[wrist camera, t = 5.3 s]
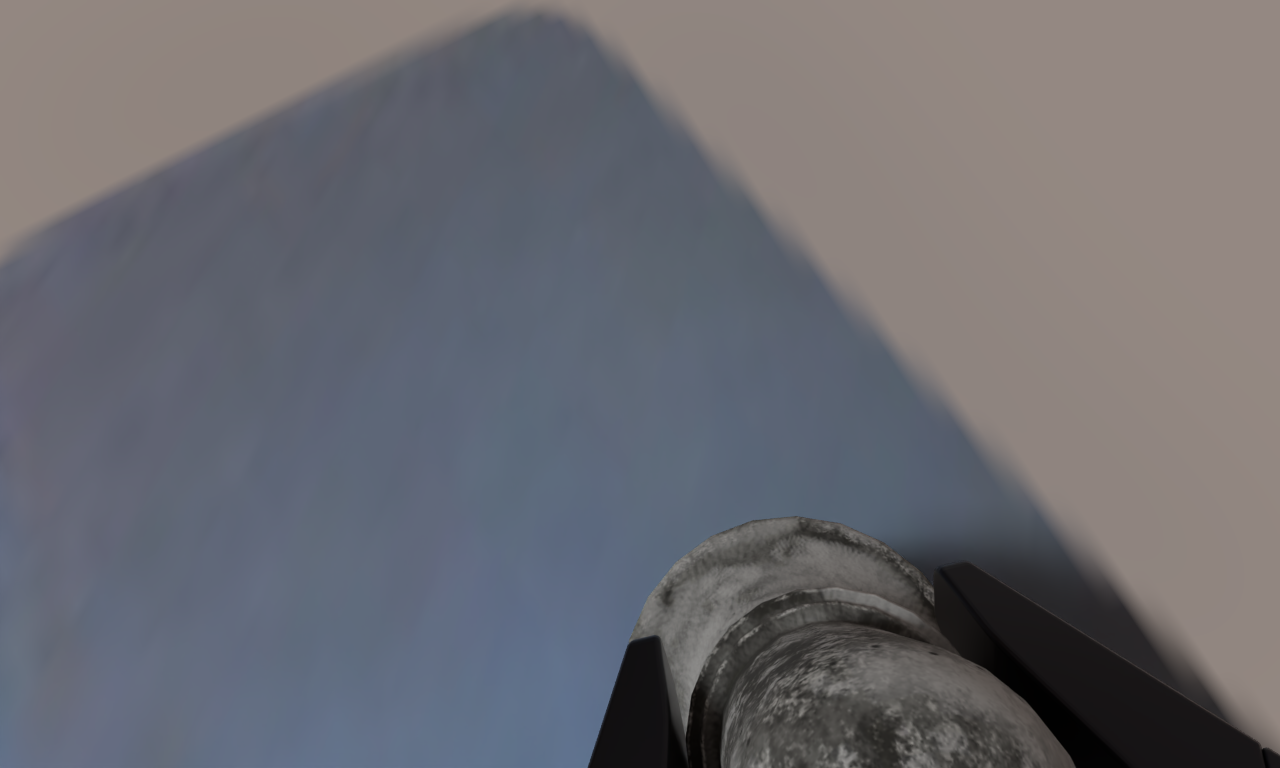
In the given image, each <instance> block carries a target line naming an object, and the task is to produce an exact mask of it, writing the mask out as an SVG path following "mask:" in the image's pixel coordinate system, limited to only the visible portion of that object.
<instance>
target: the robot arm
mask: <svg viewBox="0 0 1280 768" xmlns="http://www.w3.org/2000/svg"><path fill="white" fill-rule="evenodd" d="M934 609H935V616H936V620H937V623H938V626H939V629H940V631H941V633H942V635H944V636H945V637H946V638H947V639H948V640H949V641H950V642H951V644H952V645H953V646H954V647H955V649H956V650H957V651H958V653H959V654H960V655H961V656H962V658H964V659H966V660H969V661H971V662H973V663H975V664H977V665H979V666H981V667H983V668H985V669H987V670H988V671H989V672H990V673H992V674H993V675H994V676H995V677H997V678H998V679H999V680H1000V681H1002V682H1003V683H1004V684H1005V685H1007V686H1008V687H1009V688H1010V689H1011V690H1013V691H1014V692H1015V693H1016V694H1018V695H1019V696H1020V697H1021V698H1023V699H1024V700H1025V701H1026V702H1027V703H1028V704H1029V705H1030V707H1031V708H1032V709H1033V710H1034V711H1035V712H1036V713H1037V715H1038V716H1039V717H1040V719H1041V720H1042V721H1043V722H1044V724H1045V725H1046V726H1047V727H1048V729H1049V730H1050V731H1051V732H1052V734H1053V735H1054V736H1055V737H1056V739H1057V740H1058V741H1059V743H1060V744H1061V745H1062V746H1063V748H1064V749H1065V750H1066V751H1067V753H1068V754H1069V755H1070V757H1071V759H1072V761H1073V763H1074V765H1075V767H1076V768H1280V755H1279V754H1278V753H1276V752H1274V751H1273V750H1271V749H1269V748H1263V749H1262V747H1261V745H1260V743H1259V742H1258V741H1256V740H1255V739H1253V738H1251V737H1250V736H1248V735H1247V734H1245V733H1243V732H1242V731H1240V730H1239V729H1237V728H1235V727H1234V726H1232V725H1231V724H1229V723H1227V722H1226V721H1224V720H1223V719H1221V718H1219V717H1218V716H1216V715H1215V714H1213V713H1211V712H1210V711H1208V710H1207V709H1205V708H1203V707H1202V706H1200V705H1199V704H1197V703H1195V702H1194V701H1192V700H1191V699H1189V698H1187V697H1186V696H1184V695H1183V694H1181V693H1179V692H1178V691H1176V690H1174V689H1173V688H1171V687H1170V686H1168V685H1166V684H1165V683H1163V682H1162V681H1160V680H1158V679H1157V678H1155V677H1154V676H1152V675H1150V674H1149V673H1147V672H1146V671H1144V670H1142V669H1141V668H1139V667H1138V666H1136V665H1134V664H1133V663H1131V662H1130V661H1128V660H1126V659H1125V658H1123V657H1122V656H1120V655H1118V654H1117V653H1115V652H1114V651H1112V650H1110V649H1109V648H1107V647H1106V646H1104V645H1102V644H1101V643H1099V642H1098V641H1096V640H1094V639H1093V638H1091V637H1090V636H1088V635H1086V634H1085V633H1083V632H1082V631H1080V630H1078V629H1077V628H1075V627H1073V626H1072V625H1070V624H1069V623H1067V622H1065V621H1064V620H1062V619H1061V618H1059V617H1057V616H1056V615H1054V614H1053V613H1051V612H1049V611H1048V610H1046V609H1045V608H1043V607H1041V606H1040V605H1038V604H1037V603H1035V602H1033V601H1032V600H1030V599H1029V598H1027V597H1025V596H1024V595H1022V594H1021V593H1019V592H1017V591H1016V590H1014V589H1013V588H1011V587H1009V586H1008V585H1006V584H1005V583H1003V582H1001V581H1000V580H998V579H997V578H995V577H993V576H992V575H990V574H989V573H987V572H985V571H984V570H982V569H981V568H979V567H977V566H976V565H974V564H972V563H970V562H968V561H958V562H954V563H950V564H946V565H942V566H939V567H937V568H936V569H935V571H934ZM685 739H686V736H685V731H684V727H683V722H682V717H681V712H680V707H679V702H678V697H677V692H676V687H675V683H674V679H673V675H672V672H671V669H670V665H669V662H668V659H667V655H666V652H665V649H664V646H663V642H662V640H661V638H660V637H659V636H657V635H652V636H648V637H643V638H639V639H635V640H632V641H631V642H630V643H629V644H628V646H627V649H626V651H625V655H624V658H623V661H622V664H621V667H620V670H619V673H618V676H617V679H616V682H615V685H614V688H613V691H612V694H611V698H610V701H609V704H608V707H607V710H606V713H605V716H604V719H603V722H602V725H601V728H600V731H599V734H598V737H597V741H596V744H595V747H594V750H593V753H592V756H591V759H590V762H589V765H588V768H688V759H687V749H686V740H685Z"/></svg>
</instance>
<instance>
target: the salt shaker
mask: <svg viewBox="0 0 1280 768" xmlns="http://www.w3.org/2000/svg"><path fill="white" fill-rule="evenodd" d="M652 635H657V636H659V637H660V638H661V640H662V642H663V646H664V649H665V652H666V655H667V659H668V662H669V665H670V669H671V672H672V675H673V679H674V683H675V687H676V692H677V697H678V702H679V707H680V712H681V717H682V722H683V727H684V731H685V736H686V739H685V740H686V749H687V759H688V768H1076V767H1075V765H1074V763H1073V761H1072V759H1071V757H1070V755H1069V754H1068V753H1067V751H1066V750H1065V749H1064V748H1063V746H1062V745H1061V744H1060V743H1059V741H1058V740H1057V739H1056V737H1055V736H1054V735H1053V734H1052V732H1051V731H1050V730H1049V729H1048V727H1047V726H1046V725H1045V724H1044V722H1043V721H1042V720H1041V719H1040V717H1039V716H1038V715H1037V713H1036V712H1035V711H1034V710H1033V709H1032V708H1031V707H1030V705H1029V704H1028V703H1027V702H1026V701H1025V700H1024V699H1023V698H1021V697H1020V696H1019V695H1018V694H1016V693H1015V692H1014V691H1013V690H1011V689H1010V688H1009V687H1008V686H1007V685H1005V684H1004V683H1003V682H1002V681H1000V680H999V679H998V678H997V677H995V676H994V675H993V674H992V673H990V672H989V671H988V670H987V669H985V668H983V667H981V666H979V665H977V664H975V663H973V662H971V661H969V660H966V659H964V658H962V656H961V655H960V654H959V653H958V651H957V650H956V649H955V647H954V646H953V645H952V644H951V642H950V641H949V640H948V639H947V638H946V637H945V636H944V635H942V633H941V631H940V629H939V626H938V623H937V620H936V616H935V609H934V587H933V586H932V585H931V583H930V582H929V581H928V580H927V578H926V577H925V576H924V575H923V573H922V572H921V571H920V570H918V569H917V568H916V567H914V566H913V565H912V564H911V563H909V562H908V561H907V560H905V559H904V558H903V557H902V556H900V555H899V554H898V553H896V552H895V551H894V550H892V549H891V548H890V547H889V546H887V545H886V544H885V543H883V542H881V541H879V540H877V539H874V538H872V537H870V536H868V535H865V534H863V533H861V532H859V531H856V530H854V529H852V528H850V527H847V526H845V525H843V524H840V523H834V522H828V521H822V520H816V519H810V518H804V517H798V516H794V517H784V518H774V519H763V520H753V521H750V522H747V523H745V524H742V525H739V526H737V527H734V528H732V529H729V530H726V531H724V532H721V533H718V534H716V535H713V536H711V537H710V538H708V539H707V540H706V541H704V542H703V543H701V544H700V545H699V546H697V547H696V548H695V549H693V550H692V551H691V552H689V553H688V554H687V555H685V556H684V557H682V558H681V559H680V560H678V561H677V562H676V563H675V564H674V565H673V567H672V568H671V569H670V570H669V572H668V573H667V574H666V575H665V577H664V578H663V579H662V580H661V582H660V583H659V584H658V585H657V587H656V588H655V589H654V590H653V592H652V593H651V594H650V595H649V597H648V599H647V601H646V603H645V605H644V608H643V610H642V612H641V614H640V617H639V619H638V621H637V623H636V626H635V628H634V630H633V633H632V635H631V637H630V639H629V643H630V642H631V641H632V640H635V639H639V638H643V637H648V636H652Z"/></svg>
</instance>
